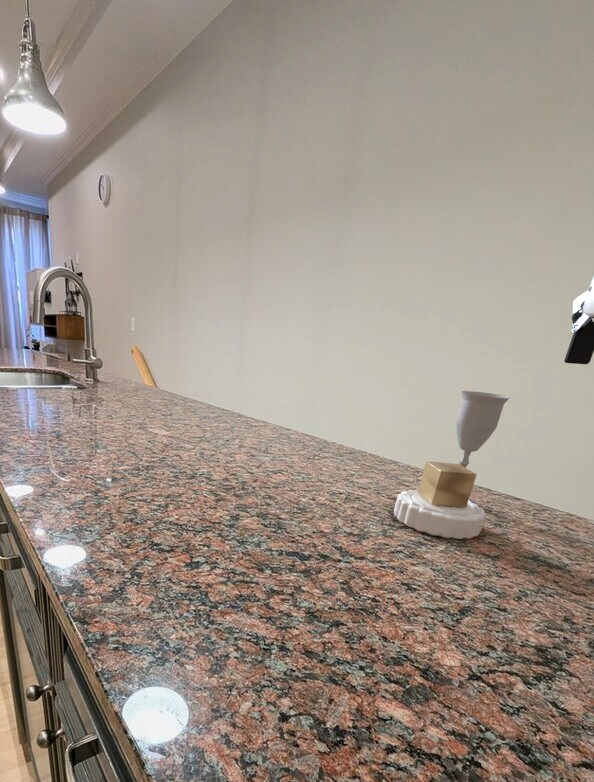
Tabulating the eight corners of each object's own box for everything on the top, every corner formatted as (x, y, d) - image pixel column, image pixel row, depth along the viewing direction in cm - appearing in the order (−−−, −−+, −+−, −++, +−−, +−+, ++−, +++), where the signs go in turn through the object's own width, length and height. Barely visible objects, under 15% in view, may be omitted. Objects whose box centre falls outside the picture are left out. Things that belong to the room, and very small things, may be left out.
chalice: (442, 490, 82) (472, 390, 76) (481, 502, 78) (516, 397, 71) (423, 497, 78) (453, 391, 71) (463, 510, 73) (499, 398, 66)
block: (449, 495, 68) (459, 463, 66) (466, 507, 63) (477, 474, 62) (417, 492, 68) (425, 461, 66) (431, 504, 63) (441, 471, 61)
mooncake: (493, 545, 61) (501, 521, 59) (401, 532, 63) (407, 508, 61) (464, 513, 72) (471, 492, 70) (387, 502, 73) (392, 482, 72)
